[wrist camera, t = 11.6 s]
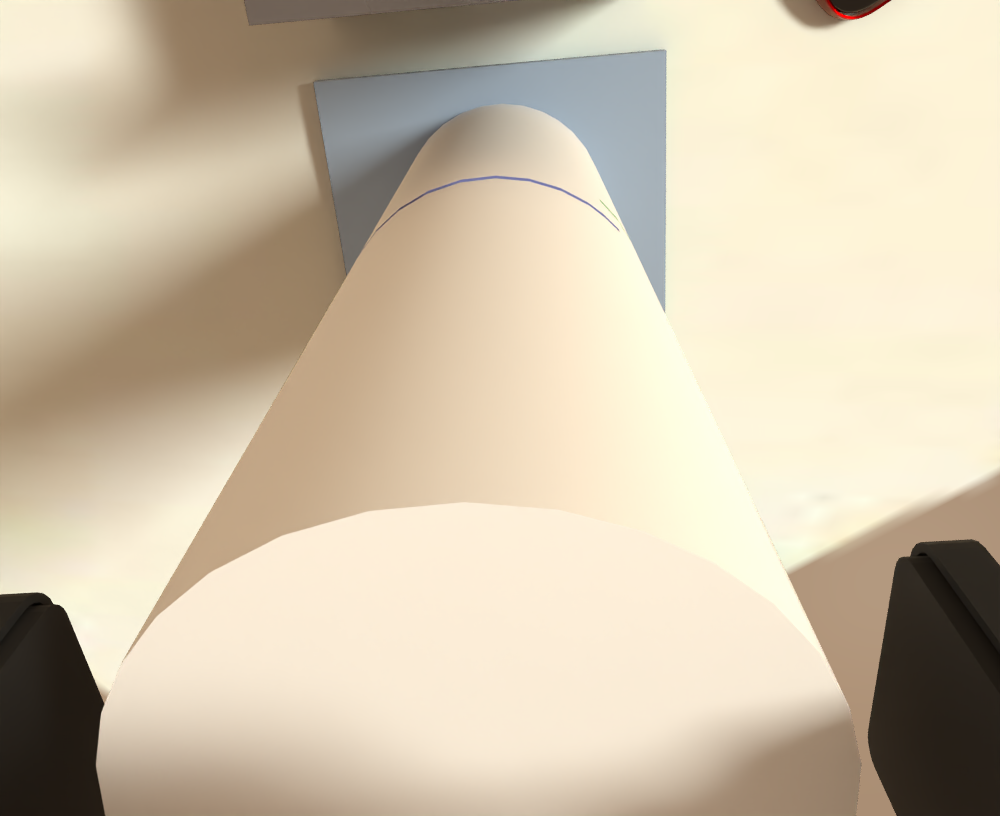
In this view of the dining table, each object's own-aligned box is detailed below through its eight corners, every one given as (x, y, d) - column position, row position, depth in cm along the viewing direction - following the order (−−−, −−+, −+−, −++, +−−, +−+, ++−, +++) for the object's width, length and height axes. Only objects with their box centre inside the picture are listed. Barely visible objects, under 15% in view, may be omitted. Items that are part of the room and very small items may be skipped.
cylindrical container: (470, 61, 28) (306, 335, 6) (641, 176, 30) (1032, 740, 7) (370, 237, 31) (-5, 885, 8) (532, 334, 32) (574, 1092, 10)
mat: (316, 80, 29) (313, 82, 28) (663, 49, 28) (666, 50, 28) (362, 346, 33) (359, 351, 33) (662, 324, 33) (665, 329, 32)
